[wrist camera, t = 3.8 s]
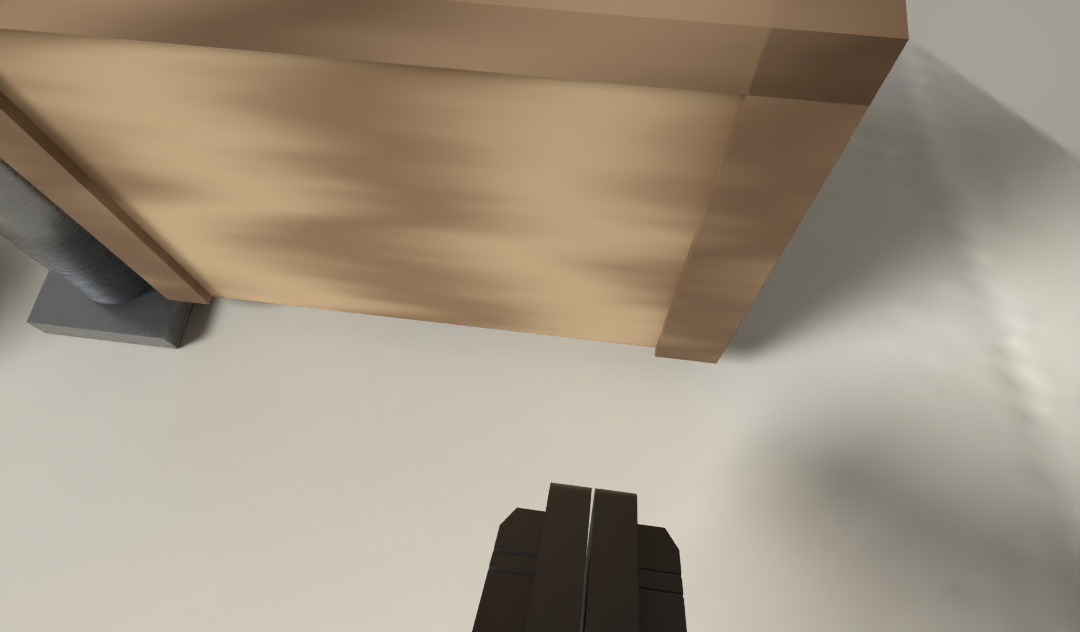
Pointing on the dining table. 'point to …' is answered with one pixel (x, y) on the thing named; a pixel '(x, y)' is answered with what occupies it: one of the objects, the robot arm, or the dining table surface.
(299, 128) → the gate
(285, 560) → the dining table surface
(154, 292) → the grey upright posts
